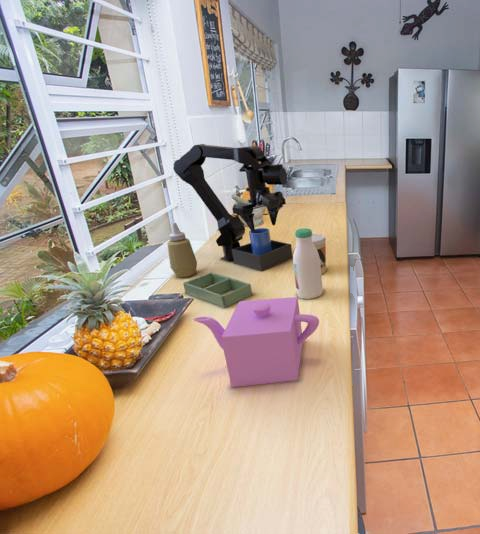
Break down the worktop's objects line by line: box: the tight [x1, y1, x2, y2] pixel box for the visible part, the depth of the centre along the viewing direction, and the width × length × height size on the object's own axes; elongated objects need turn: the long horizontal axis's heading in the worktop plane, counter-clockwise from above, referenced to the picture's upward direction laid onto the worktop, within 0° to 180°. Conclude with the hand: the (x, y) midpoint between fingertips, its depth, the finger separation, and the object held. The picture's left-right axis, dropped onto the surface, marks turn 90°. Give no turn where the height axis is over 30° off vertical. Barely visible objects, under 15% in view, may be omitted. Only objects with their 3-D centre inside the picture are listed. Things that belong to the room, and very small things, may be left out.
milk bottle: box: [292, 227, 324, 300], centre depth 113 cm, size 8×8×20 cm
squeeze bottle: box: [167, 222, 198, 278], centre depth 128 cm, size 8×8×18 cm
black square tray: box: [232, 239, 293, 272], centre depth 141 cm, size 15×15×6 cm
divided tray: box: [183, 271, 253, 309], centre depth 116 cm, size 19×10×4 cm, turn 59°
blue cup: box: [248, 227, 272, 255], centre depth 140 cm, size 7×7×11 cm
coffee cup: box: [312, 233, 327, 275], centre depth 131 cm, size 9×9×12 cm
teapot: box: [193, 296, 320, 388], centre depth 83 cm, size 15×25×14 cm, turn 99°
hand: (263, 228), depth 138 cm, fingers open, 9 cm apart
